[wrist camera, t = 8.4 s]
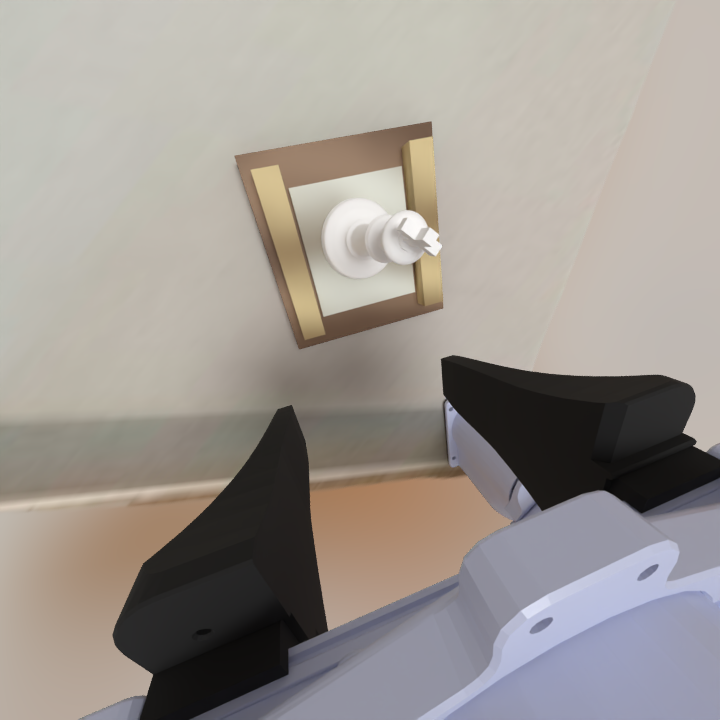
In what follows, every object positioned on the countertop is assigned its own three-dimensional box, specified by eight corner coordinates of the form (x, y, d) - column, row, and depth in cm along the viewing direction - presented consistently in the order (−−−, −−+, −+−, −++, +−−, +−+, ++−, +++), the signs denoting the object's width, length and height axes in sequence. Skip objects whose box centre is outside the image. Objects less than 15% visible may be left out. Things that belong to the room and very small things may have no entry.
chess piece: (369, 291, 19) (440, 332, 10) (307, 254, 17) (331, 264, 8) (406, 227, 18) (521, 212, 9) (345, 179, 16) (417, 101, 7)
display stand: (435, 305, 23) (451, 311, 21) (298, 344, 21) (300, 355, 19) (422, 128, 17) (441, 113, 15) (237, 161, 16) (230, 148, 14)
